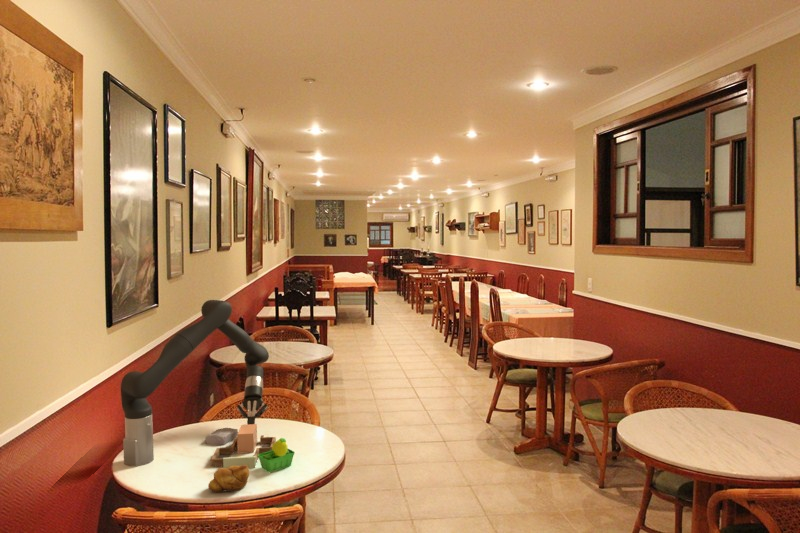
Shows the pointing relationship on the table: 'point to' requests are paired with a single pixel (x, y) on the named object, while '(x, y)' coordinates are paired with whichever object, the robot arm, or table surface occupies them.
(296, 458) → the table surface
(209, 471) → the table surface
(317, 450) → the table surface
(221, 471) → the bread roll
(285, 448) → the fruit basket
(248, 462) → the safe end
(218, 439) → the stone block
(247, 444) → the terracotta brick
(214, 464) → the box
